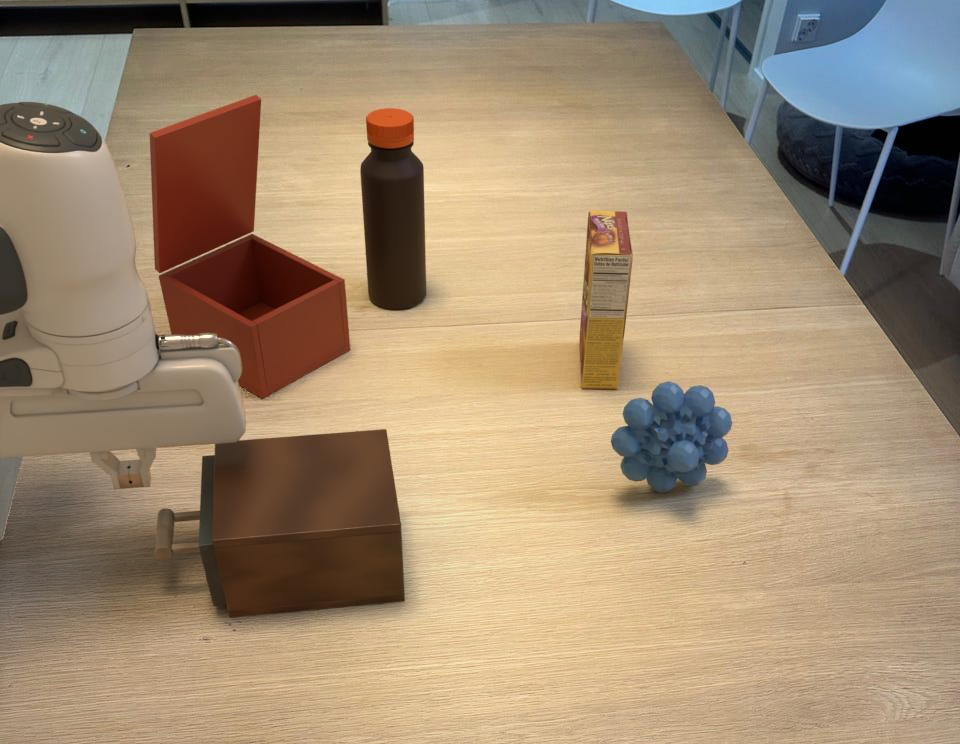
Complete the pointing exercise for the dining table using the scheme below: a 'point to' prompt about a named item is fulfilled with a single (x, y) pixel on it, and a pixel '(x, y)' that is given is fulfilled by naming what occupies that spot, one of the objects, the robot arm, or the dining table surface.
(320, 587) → the cabinet
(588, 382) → the candy box
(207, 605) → the dining table surface
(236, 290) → the chest
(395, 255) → the bottle
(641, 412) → the blue knobbed flower
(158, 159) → the lid
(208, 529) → the pulled out drawer
